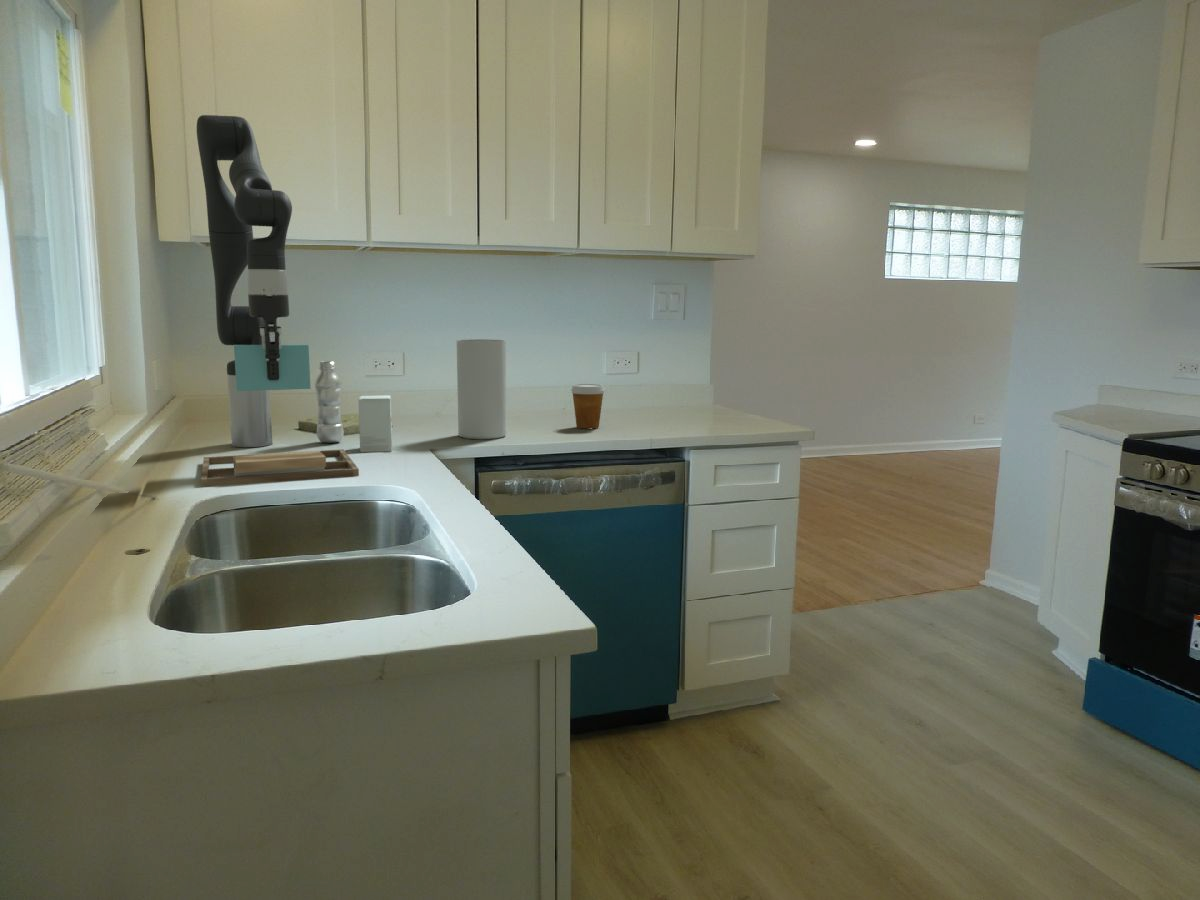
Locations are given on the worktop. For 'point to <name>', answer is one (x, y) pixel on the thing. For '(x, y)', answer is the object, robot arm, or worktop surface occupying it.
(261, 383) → the teal block
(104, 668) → the worktop surface
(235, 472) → the grey flat panel
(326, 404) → the plastic bottle
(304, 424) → the decorative tile
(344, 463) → the tray
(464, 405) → the cylinder vase
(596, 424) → the disposable coffee cup
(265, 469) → the oak offcut top
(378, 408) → the supplement box
